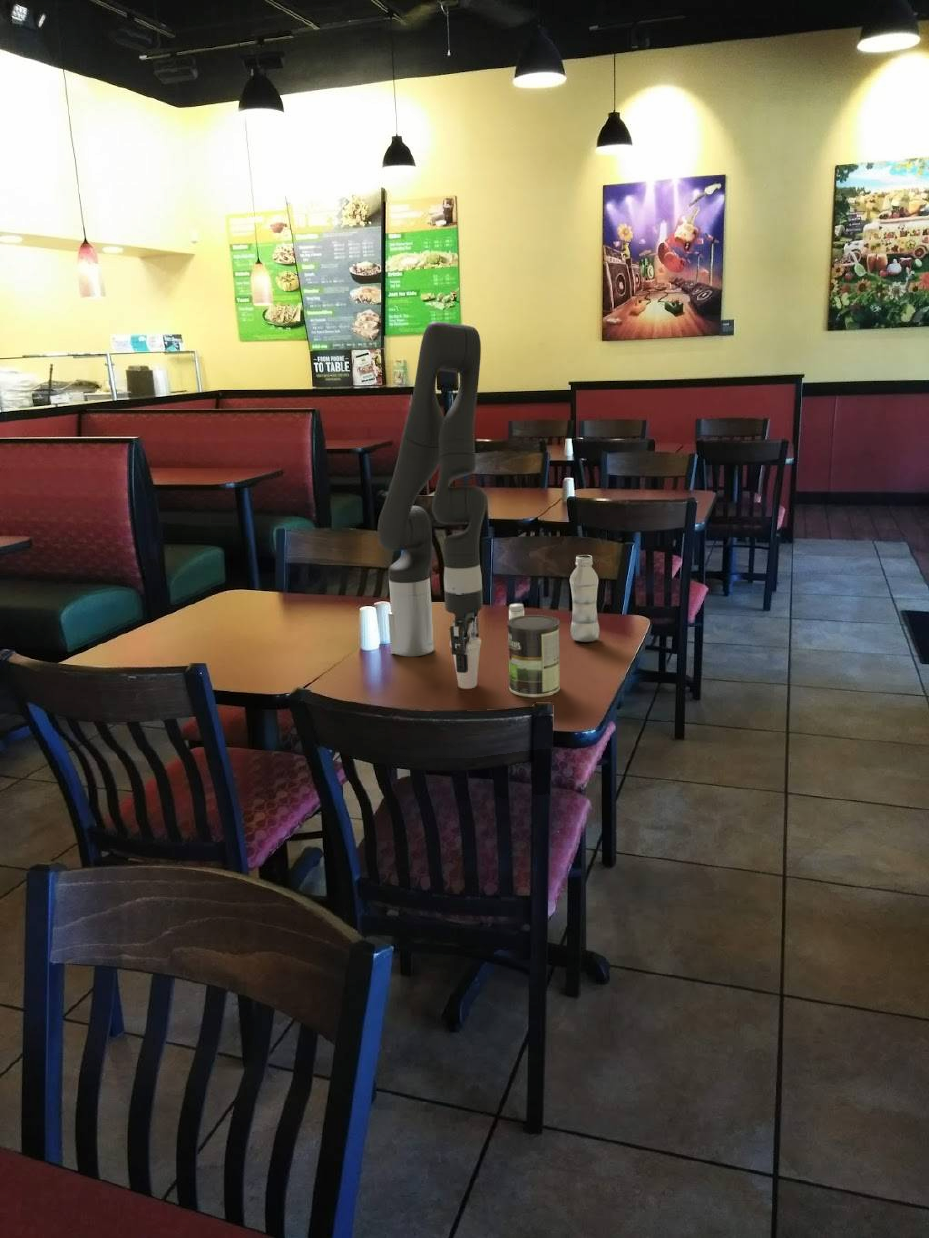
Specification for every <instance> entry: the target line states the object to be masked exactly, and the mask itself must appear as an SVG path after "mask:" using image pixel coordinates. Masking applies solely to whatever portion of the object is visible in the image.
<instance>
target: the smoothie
mask: <svg viewBox="0 0 929 1238" xmlns="http://www.w3.org/2000/svg"><path fill="white" fill-rule="evenodd" d="M464 639H466V638H464ZM481 639H482V638H479V637H478V638H477V637H472V636H471V643H470V644H468V653H467V656H468V671H467V672H466V673H459V672H457V668H456V655H452V657H453V663H454V667H455V668H454V669H455V673H456V680H457V684H458V687H459V688H460V689H464V690H467V689H473V688H476V687H477V683H478V672H479V662H480V650H481V649H480V647H481V646H482V640H481ZM449 642H450V643H449V646H450V648H451V640H450V641H449ZM458 649H461V645H460V644H459V645H458Z"/></svg>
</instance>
